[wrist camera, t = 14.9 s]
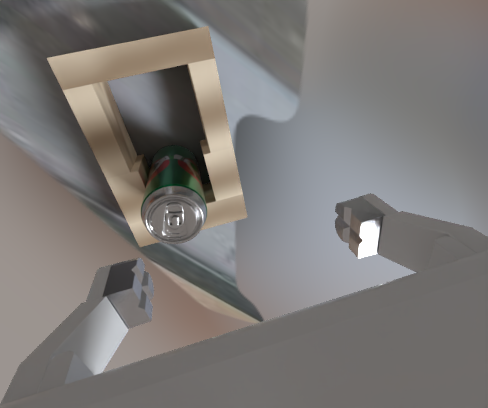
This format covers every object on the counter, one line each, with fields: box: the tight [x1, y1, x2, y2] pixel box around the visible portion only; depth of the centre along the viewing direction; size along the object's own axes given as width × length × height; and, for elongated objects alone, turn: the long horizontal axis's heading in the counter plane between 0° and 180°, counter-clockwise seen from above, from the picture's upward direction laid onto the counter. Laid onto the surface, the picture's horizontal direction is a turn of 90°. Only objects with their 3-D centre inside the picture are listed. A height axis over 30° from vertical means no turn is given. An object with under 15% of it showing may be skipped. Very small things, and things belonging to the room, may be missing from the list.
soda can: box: [141, 145, 207, 244], centre depth 25 cm, size 5×5×12 cm
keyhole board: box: [47, 26, 247, 247], centre depth 26 cm, size 18×12×5 cm, turn 10°
